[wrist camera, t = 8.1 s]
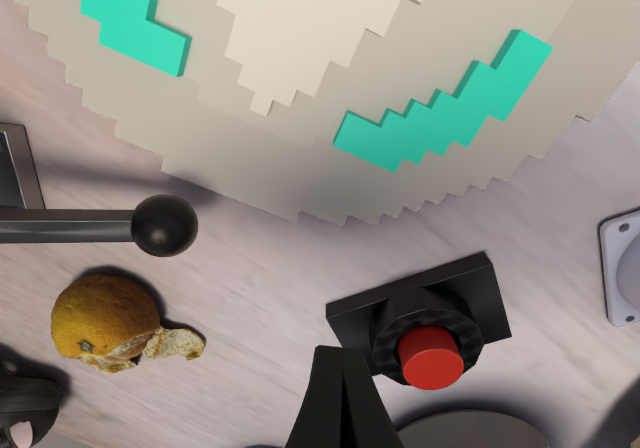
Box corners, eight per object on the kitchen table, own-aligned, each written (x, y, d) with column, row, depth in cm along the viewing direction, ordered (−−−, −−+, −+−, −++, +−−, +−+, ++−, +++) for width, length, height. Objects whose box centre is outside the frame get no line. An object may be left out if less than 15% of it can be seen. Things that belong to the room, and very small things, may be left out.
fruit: (106, 371, 26) (76, 419, 23) (34, 282, 22) (-15, 324, 19) (212, 350, 25) (195, 397, 22) (155, 252, 21) (124, 292, 18)
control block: (483, 250, 21) (507, 282, 18) (504, 323, 23) (526, 361, 21) (325, 304, 23) (325, 339, 20) (359, 365, 25) (364, 404, 23)
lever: (198, 185, 17) (195, 212, 15) (200, 236, 18) (197, 268, 16) (-197, 174, 13) (-286, 208, 11) (-159, 239, 15) (-232, 282, 12)
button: (445, 318, 20) (455, 342, 18) (460, 356, 21) (470, 381, 20) (390, 334, 20) (395, 359, 19) (407, 370, 22) (413, 396, 20)
